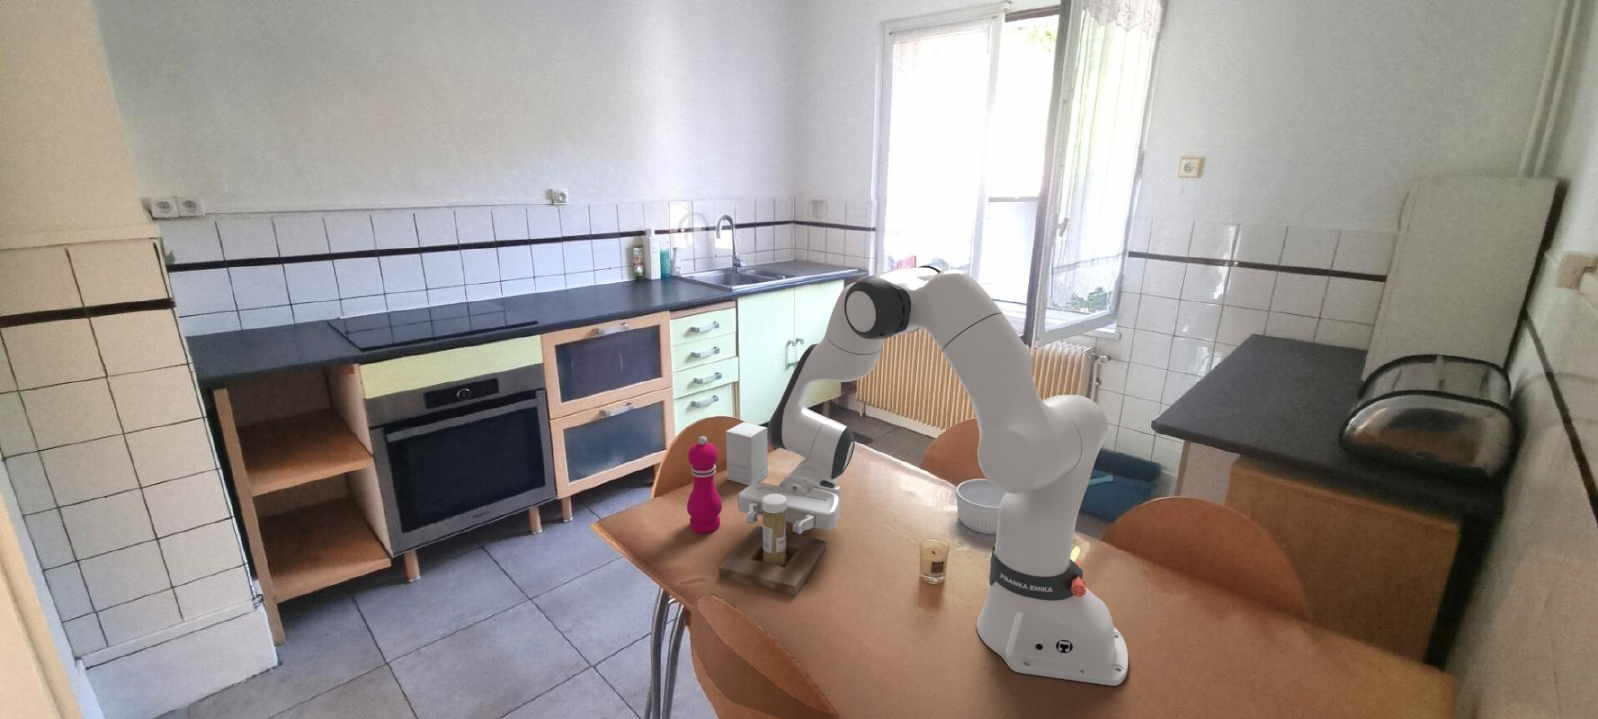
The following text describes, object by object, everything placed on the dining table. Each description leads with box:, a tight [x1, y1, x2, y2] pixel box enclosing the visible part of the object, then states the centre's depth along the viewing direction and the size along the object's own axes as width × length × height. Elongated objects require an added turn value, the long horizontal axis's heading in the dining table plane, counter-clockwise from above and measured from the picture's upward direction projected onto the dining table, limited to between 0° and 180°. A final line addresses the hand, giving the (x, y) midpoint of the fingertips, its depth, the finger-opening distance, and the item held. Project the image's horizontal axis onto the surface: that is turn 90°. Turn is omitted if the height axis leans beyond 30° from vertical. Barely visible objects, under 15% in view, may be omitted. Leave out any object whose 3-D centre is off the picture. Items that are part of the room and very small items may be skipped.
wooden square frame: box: [718, 525, 827, 597], centre depth 126 cm, size 15×16×2 cm
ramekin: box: [955, 478, 1006, 535], centre depth 141 cm, size 13×13×7 cm
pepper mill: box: [686, 435, 723, 534], centre depth 137 cm, size 7×7×20 cm
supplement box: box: [725, 421, 769, 487], centre depth 160 cm, size 7×7×13 cm
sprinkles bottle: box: [762, 494, 787, 567], centre depth 125 cm, size 5×5×13 cm
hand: (772, 524), depth 123 cm, fingers open, 8 cm apart
